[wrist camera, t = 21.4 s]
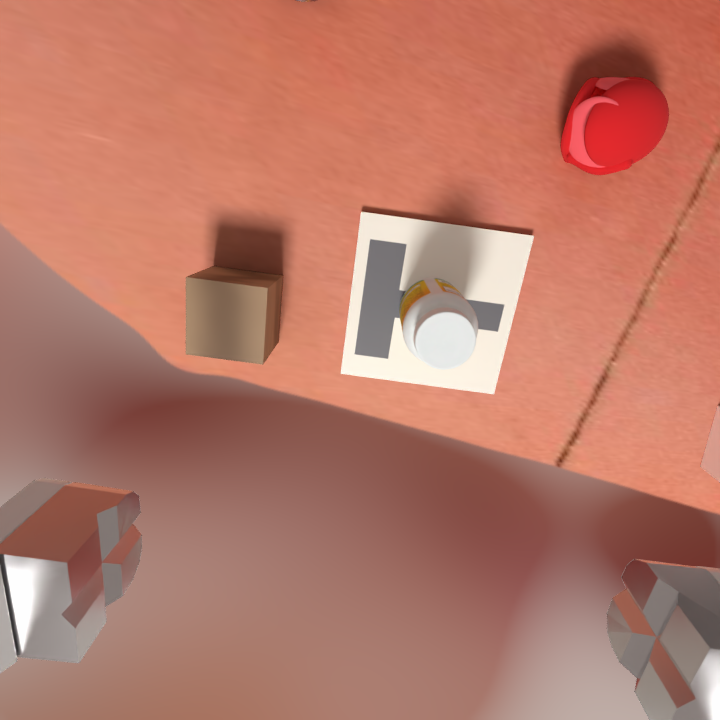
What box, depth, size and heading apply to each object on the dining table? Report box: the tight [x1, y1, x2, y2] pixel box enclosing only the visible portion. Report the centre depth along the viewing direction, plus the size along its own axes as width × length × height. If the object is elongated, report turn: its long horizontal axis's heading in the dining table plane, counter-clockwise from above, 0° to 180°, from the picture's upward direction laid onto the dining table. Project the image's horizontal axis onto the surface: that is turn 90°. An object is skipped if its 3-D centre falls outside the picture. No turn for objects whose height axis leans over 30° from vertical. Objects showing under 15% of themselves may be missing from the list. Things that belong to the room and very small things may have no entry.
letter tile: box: [341, 212, 534, 394], centre depth 39 cm, size 14×14×1 cm
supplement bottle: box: [399, 278, 478, 370], centre depth 34 cm, size 5×5×10 cm
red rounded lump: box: [561, 77, 669, 175], centre depth 32 cm, size 8×6×6 cm
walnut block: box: [186, 266, 283, 364], centre depth 37 cm, size 6×6×6 cm
